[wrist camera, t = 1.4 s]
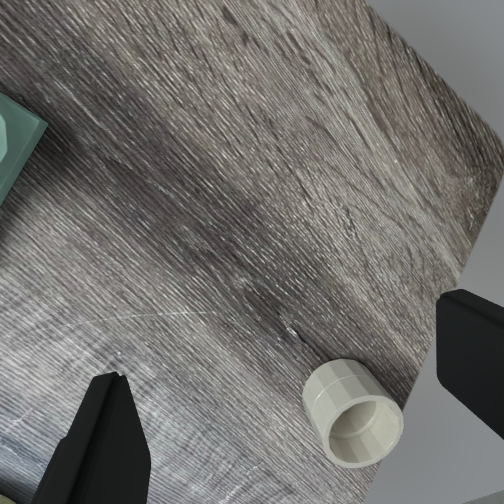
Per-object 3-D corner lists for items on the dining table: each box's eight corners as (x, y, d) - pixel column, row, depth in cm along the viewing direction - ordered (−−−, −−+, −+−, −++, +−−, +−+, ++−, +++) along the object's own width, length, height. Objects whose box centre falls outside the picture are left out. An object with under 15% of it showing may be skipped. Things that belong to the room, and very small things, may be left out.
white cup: (329, 342, 30) (359, 381, 24) (381, 374, 32) (419, 416, 26) (286, 400, 30) (305, 449, 25) (339, 427, 32) (368, 479, 27)
